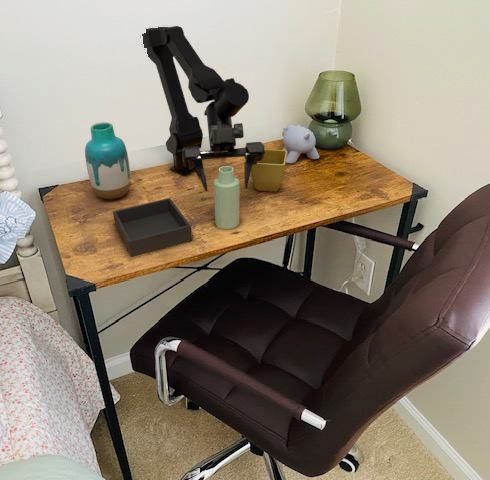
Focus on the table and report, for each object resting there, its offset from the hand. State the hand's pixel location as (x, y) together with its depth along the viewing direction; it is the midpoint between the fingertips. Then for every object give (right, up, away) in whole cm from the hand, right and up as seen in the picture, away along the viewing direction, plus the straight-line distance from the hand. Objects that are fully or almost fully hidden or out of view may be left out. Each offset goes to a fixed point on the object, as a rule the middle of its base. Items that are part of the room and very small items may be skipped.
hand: (226, 189), depth 112 cm
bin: (-17, -10, +2) cm, 20 cm away
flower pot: (+12, +2, +18) cm, 21 cm away
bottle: (0, -7, +4) cm, 9 cm away
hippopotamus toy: (+22, +14, +34) cm, 43 cm away
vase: (-29, 0, +17) cm, 34 cm away
